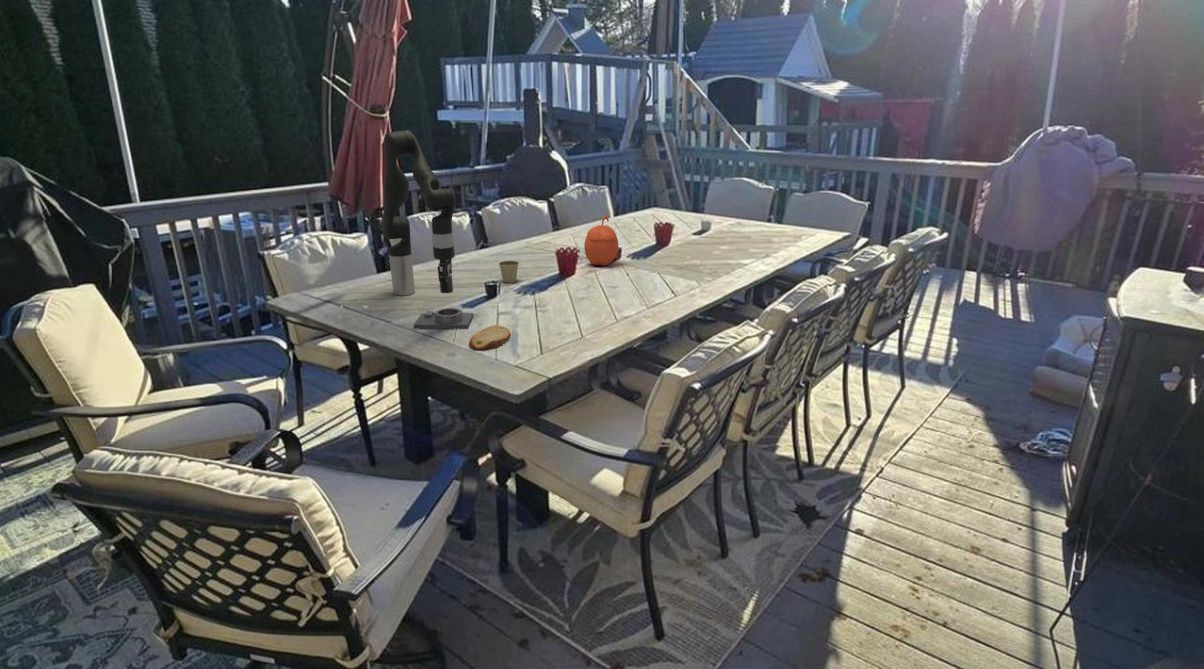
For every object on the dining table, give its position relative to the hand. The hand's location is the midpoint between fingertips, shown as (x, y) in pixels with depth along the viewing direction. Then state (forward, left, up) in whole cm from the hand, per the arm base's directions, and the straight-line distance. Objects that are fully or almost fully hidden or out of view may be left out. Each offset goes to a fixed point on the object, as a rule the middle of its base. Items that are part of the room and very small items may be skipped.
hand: (446, 288), depth 243 cm
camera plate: (-1, -2, -14) cm, 14 cm away
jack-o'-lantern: (-90, +61, -14) cm, 110 cm away
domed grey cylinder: (0, 0, -1) cm, 1 cm away
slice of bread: (+18, +18, -14) cm, 29 cm away
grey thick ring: (0, 0, -12) cm, 12 cm away
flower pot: (-59, +17, -14) cm, 63 cm away
